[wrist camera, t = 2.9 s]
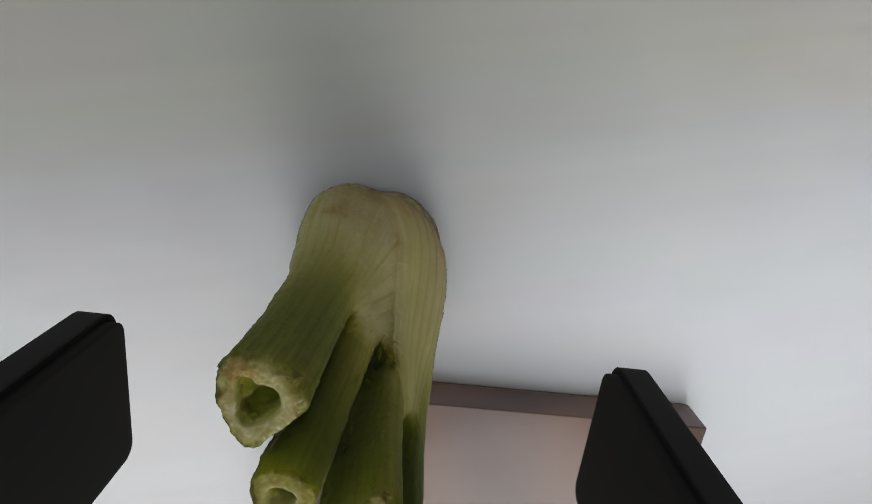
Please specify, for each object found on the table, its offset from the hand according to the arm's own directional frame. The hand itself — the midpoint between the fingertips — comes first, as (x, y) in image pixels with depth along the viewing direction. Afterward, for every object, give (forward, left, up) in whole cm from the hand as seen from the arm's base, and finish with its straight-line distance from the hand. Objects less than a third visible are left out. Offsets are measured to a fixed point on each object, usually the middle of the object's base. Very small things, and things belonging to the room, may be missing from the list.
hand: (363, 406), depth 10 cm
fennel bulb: (-1, 0, -9) cm, 9 cm away
